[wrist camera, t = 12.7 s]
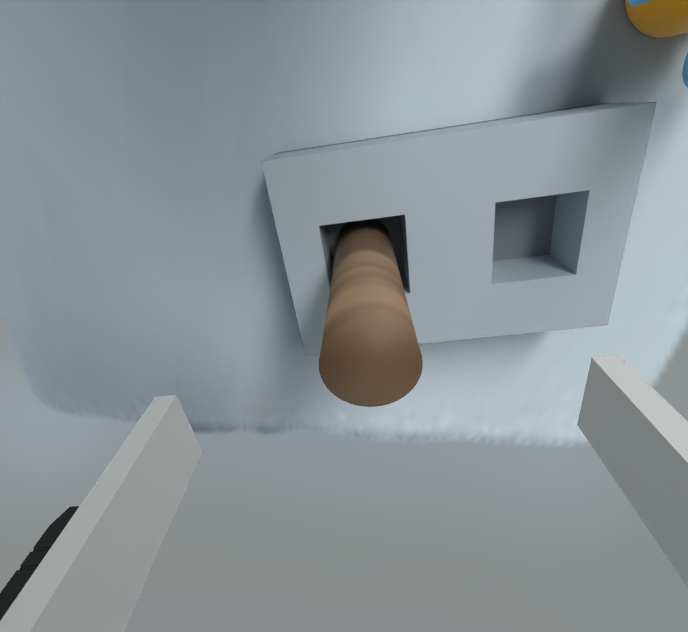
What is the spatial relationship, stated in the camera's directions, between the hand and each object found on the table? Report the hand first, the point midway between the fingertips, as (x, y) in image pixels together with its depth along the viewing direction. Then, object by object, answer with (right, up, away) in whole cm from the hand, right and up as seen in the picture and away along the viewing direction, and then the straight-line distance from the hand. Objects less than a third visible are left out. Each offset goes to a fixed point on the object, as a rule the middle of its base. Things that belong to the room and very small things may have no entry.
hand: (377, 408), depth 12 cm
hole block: (+6, +10, +17) cm, 20 cm away
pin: (0, +9, +16) cm, 19 cm away
